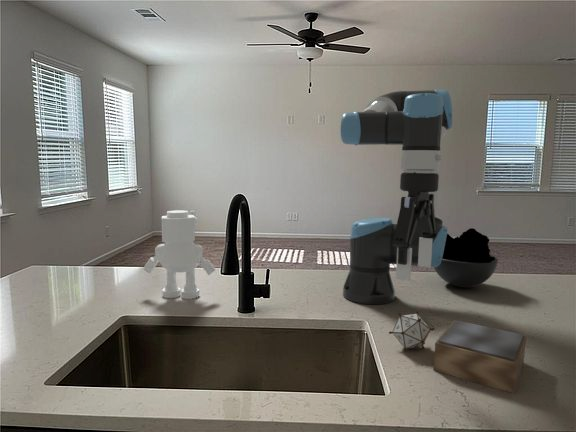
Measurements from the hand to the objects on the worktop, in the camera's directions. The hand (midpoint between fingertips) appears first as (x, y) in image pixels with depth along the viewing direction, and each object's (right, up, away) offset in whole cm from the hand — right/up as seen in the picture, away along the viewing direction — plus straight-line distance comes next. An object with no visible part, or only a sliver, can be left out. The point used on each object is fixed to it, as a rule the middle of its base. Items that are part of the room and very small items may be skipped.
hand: (414, 273), depth 90 cm
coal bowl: (+30, -11, +48) cm, 58 cm away
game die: (0, -17, +3) cm, 17 cm away
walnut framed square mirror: (+11, -18, -5) cm, 22 cm away
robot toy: (-58, -12, +36) cm, 69 cm away
